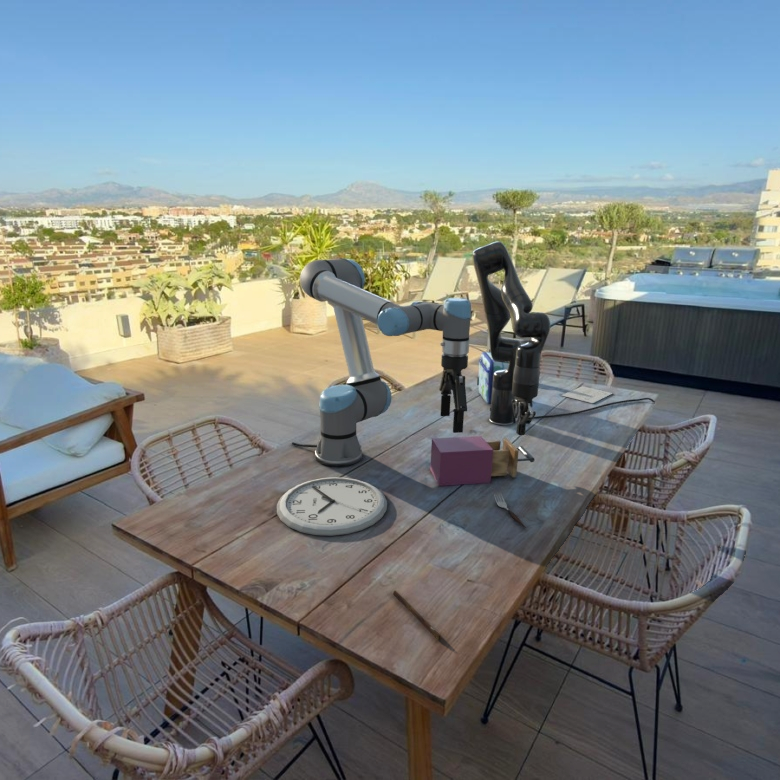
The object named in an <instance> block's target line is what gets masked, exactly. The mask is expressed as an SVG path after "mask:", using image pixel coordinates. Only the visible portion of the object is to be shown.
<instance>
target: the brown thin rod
mask: <svg viewBox="0 0 780 780" xmlns="http://www.w3.org/2000/svg"><path fill="white" fill-rule="evenodd" d="M392 595H393V596H394V597H395V598H396V599H397V600H398V601H399V602H400V603H401V604H402V605H403V606H404V607H405V608H406V609H407V610H408V612H410V613H411V614H412V615H413V616H414V618H416V619H417V620H418V621H419V622H420V623H421V624H422V625H423V626H424V628H426V629H427V630H428V631H429V633H430V634H431V635H432V636H433V637H434V638H435V639H436V640H437V641H439V640H441V635H440V634H439V633H438V631H436V629H435V628H434V627H433V626H432V625H431V624H430V623H429V622H428V621H427V620H426V619H425V618H424V617H423V616H422V615H421V614H420V613H419V612H418V611H417V610H416V609H415V608H414V607H413V606H412V605H411V604H410V603H409V602H408V601H407V600H406V599H405V598H404V597H403V596H402V595H401V593H399V592H398V591H397V590H394V591H393V593H392Z"/></svg>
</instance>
